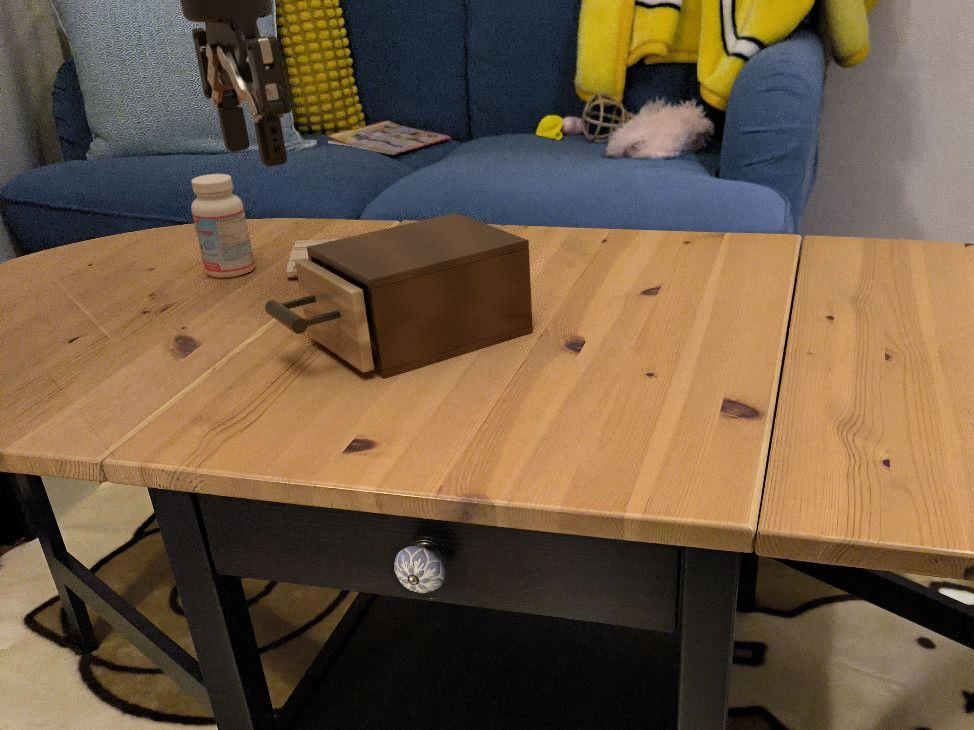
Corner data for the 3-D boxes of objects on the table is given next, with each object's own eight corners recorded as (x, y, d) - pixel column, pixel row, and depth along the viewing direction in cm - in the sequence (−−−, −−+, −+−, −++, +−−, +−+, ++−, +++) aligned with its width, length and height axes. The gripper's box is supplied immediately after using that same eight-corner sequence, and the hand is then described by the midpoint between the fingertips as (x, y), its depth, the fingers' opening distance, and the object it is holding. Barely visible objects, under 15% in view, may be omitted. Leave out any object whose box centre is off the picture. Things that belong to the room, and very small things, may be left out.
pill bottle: (199, 270, 122) (177, 178, 115) (245, 260, 125) (226, 169, 118) (216, 282, 118) (194, 187, 111) (263, 271, 120) (244, 178, 114)
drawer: (315, 387, 89) (300, 305, 85) (262, 347, 97) (246, 271, 93) (507, 329, 99) (502, 253, 95) (444, 297, 107) (437, 227, 103)
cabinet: (383, 378, 92) (369, 280, 87) (322, 337, 101) (306, 246, 96) (533, 332, 100) (528, 239, 95) (463, 298, 110) (456, 212, 104)
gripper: (145, -44, 84) (190, 152, 93) (205, -41, 74) (248, 177, 83) (227, -50, 88) (263, 140, 97) (294, -48, 78) (327, 162, 87)
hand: (256, 157), depth 90 cm, fingers open, 8 cm apart
